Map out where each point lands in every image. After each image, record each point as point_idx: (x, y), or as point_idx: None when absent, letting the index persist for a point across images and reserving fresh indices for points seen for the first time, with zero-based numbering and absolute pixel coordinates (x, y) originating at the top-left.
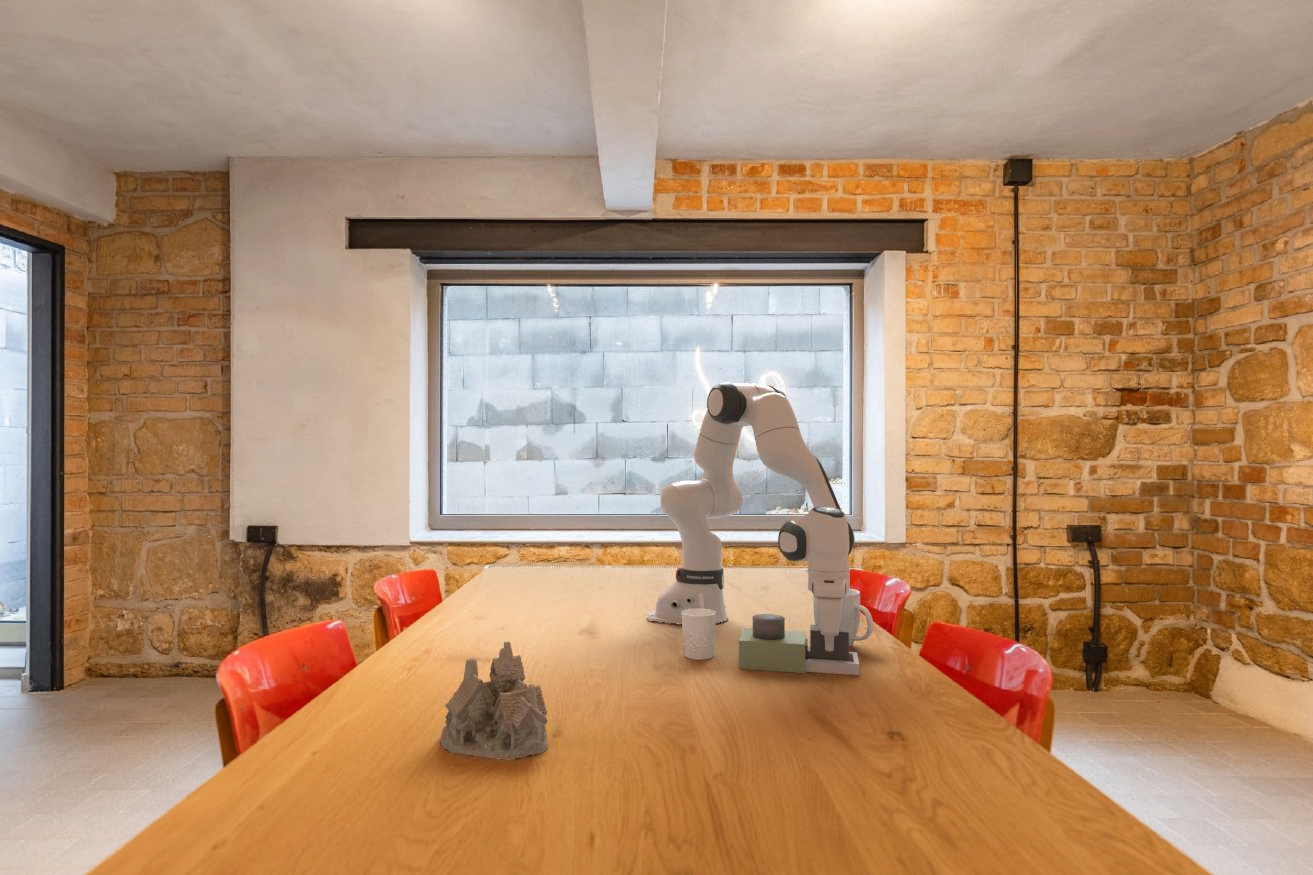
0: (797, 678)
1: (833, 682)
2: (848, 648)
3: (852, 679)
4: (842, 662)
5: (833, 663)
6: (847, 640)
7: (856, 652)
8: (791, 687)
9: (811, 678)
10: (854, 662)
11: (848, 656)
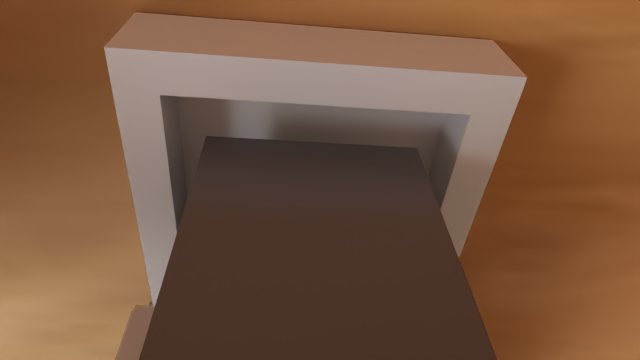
0: (512, 334)
1: (610, 207)
2: (440, 221)
3: (578, 99)
4: (466, 196)
5: (461, 241)
6: (460, 294)
7: (111, 51)
8: (631, 351)
9: (520, 291)
10: (472, 111)
11: (425, 172)
